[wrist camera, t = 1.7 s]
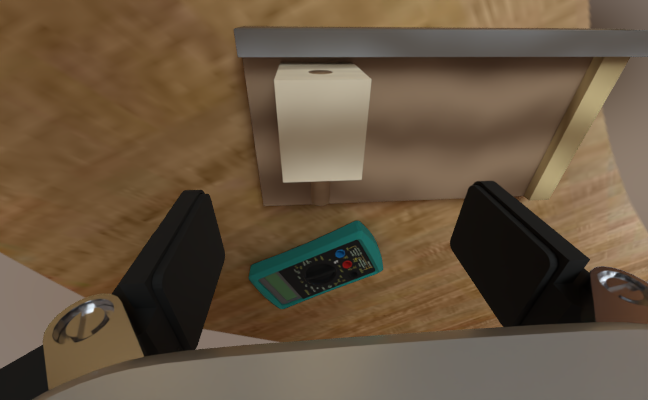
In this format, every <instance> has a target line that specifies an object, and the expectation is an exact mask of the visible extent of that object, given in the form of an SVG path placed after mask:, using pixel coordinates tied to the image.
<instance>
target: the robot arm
mask: <svg viewBox="0 0 648 400" xmlns="http://www.w3.org/2000/svg"><path fill="white" fill-rule="evenodd" d="M450 246H451V249H452V251H453V252H454V254H455V255H456V257H457V258H458V260H459V261H460V263H461V264H462V266H463V267H464V269H465V270H466V272H467V273H468V275H469V276H470V278H471V279H472V281H473V282H474V284H475V285H476V287H477V288H478V290H479V292H480V293H481V295H482V296H483V298H484V299H485V301H486V302H487V304H488V305H489V307H490V308H491V310H492V311H493V313H494V314H495V316H496V317H497V319H498V320H499V322H500V323H501V324H502V326H503V327H498V328H482V329H466V330H451V331H436V332H421V333H406V334H392V335H378V336H363V337H349V338H335V339H321V340H308V341H294V342H281V343H269V344H268V343H267V344H255V345H242V346H232V347H220V348H210V349H199V350H195V349H196V347H197V345H198V342H199V339H200V336H201V333H202V329H203V326H204V323H205V320H206V317H207V314H208V311H209V307H210V304H211V301H212V298H213V295H214V292H215V288H216V285H217V282H218V279H219V276H220V273H221V269H222V266H223V263H224V259H225V251H224V247H223V243H222V239H221V236H220V232H219V228H218V224H217V220H216V217H215V213H214V209H213V205H212V201H211V198H210V195H209V194H205V193H204V192H203V190H185V191H183V192H182V193H181V195H180V196H179V198H178V199H177V201H176V202H175V204H174V205H173V207H172V208H171V209H170V211H169V212H168V214H167V215H166V217H165V218H164V220H163V221H162V223H161V224H160V225H159V227H158V228H157V230H156V231H155V232H154V233H153V235H152V236H151V238H150V239H149V241H148V242H147V244H146V245H145V246H144V248H143V249H142V251H141V252H140V254H139V255H138V257H137V258H136V260H135V261H134V262H133V264H132V265H131V267H130V268H129V270H128V271H127V273H126V274H125V275H124V277H123V278H122V280H121V281H120V283H119V284H118V286H117V287H116V288H115V290H114V291H113V293H112V294H98V295H93V296H89V297H87V298H84V299H82V300H79V301H78V302H76V303H74V304H72V305H70V306H69V307H67V308H66V309H65V310H63V311H62V312H61V313H60V314H58V315H57V316H56V317H55V318H54V320H53V321H52V322H51V323H50V324H49V325H48V327H47V329H46V331H45V332H44V337H43V345H42V346H40V347H38V348H36V349H35V350H33V351H31V352H29V353H28V354H26V355H24V356H23V357H21V358H19V359H17V360H16V361H14V362H12V363H10V364H8V365H7V366H5V367H3V368H1V369H0V400H648V283H647V282H645V281H644V280H642V279H640V278H638V277H636V276H634V275H632V274H630V273H627V272H625V271H623V270H619V269H616V268H612V267H604V266H601V267H595V268H593V269H592V270H591V271H590V272H588V271H587V270H585V269H584V267H585V266H586V264H587V263H588V262H589V260H590V259H589V258H588V257H586V256H585V255H584V254H583V253H582V252H580V251H579V250H578V249H577V248H575V247H574V246H573V245H572V244H571V243H569V242H568V241H567V240H566V239H564V238H563V237H562V236H561V235H560V234H558V233H557V232H556V231H555V230H554V229H552V228H551V227H550V226H549V225H547V224H546V223H545V222H544V221H543V220H541V219H540V218H539V217H538V216H536V215H535V214H534V213H533V212H532V211H530V210H529V209H528V208H527V207H525V206H524V205H523V204H522V203H521V202H519V201H518V200H517V199H516V198H514V197H513V196H512V195H511V194H510V193H508V192H507V191H506V190H505V189H504V188H502V187H501V186H500V185H499V184H497V183H496V182H495V181H476V182H475V183H474V184H473V185H471V186H470V187H469V188H468V191H467V194H466V196H465V199H464V202H463V205H462V208H461V211H460V214H459V217H458V220H457V223H456V226H455V228H454V231H453V234H452V237H451V240H450Z"/></svg>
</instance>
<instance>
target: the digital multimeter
mask: <svg viewBox="0 0 648 400" xmlns="http://www.w3.org/2000/svg"><path fill="white" fill-rule="evenodd" d="M382 270H383V263H382V258H381V254H380V251H379V248H378V245H377V242H376V240H375V239H374V237H373V235H372V234H371V233H370V231H369V230H368V229H367V228H366V227H365V226H364V225H363V224H362V223H361V222H360V221H354V222H352V223H350V224H348V225H346V226H344V227H341V228H339V229H337V230H335V231H333V232H331V233H328V234H326V235H324V236H322V237H319V238H317V239H315V240H313V241H310V242H308V243H306V244H303V245H301V246H298V247H296V248H294V249H291V250H289V251H286V252H284V253H281V254H279V255H276V256H273V257H271V258H268V259H265V260H263V261H260V262H258V263H255V264H253V265H251V267H250V273H249V280H250V281H251V283H252V284H253V285H254V286H255V287H256V288H257V290H258V291H259V292H260V293H261V294H262V295H263V296H264V297H265V298H266V299H268V300H269V301H270V302H271V303H273V304H274V305H275V306H277V307H278V308H280V309H285V308H288V307H290V306H292V305H295V304H297V303H300V302H302V301H305V300H307V299H310V298H312V297H315V296H318V295H320V294H323V293H325V292H328V291H331V290H333V289H336V288H339V287H341V286H344V285H347V284H350V283H352V282H355V281H358V280H361V279H364V278H366V277H369V276H372V275H375V274H377V273H379V272H381V271H382ZM304 278H305V279H304Z"/></svg>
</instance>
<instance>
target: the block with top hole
mask: <svg viewBox="0 0 648 400" xmlns="http://www.w3.org/2000/svg"><path fill="white" fill-rule="evenodd" d="M371 80H372V79H371V78H369V77H368V76H367V75H366V74H365V73H364V72H363V71H362V70H361V69H359V68H358V67H357V66H356V65H355V64H354V63H353V62H280V65H279V67H278V70H277V73H276V76H275V79H274V86H275V97H276V108H277V119H278V131H279V142H280V153H281V164H282V176H283V183H284V182H311V202H312V203H313V204H314V205H317V206H324V205H327V204H328V203H329V201H330V181H344V180H362V171H363V161H364V151H365V141H366V131H367V120H368V110H369V100H370V90H371Z"/></svg>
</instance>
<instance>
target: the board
mask: <svg viewBox="0 0 648 400" xmlns="http://www.w3.org/2000/svg"><path fill="white" fill-rule="evenodd" d="M234 35H235V42H236V48H237V55H238V57H242V58H243V65H244V72H245V79H246V86H247V93H248V100H249V107H250V114H251V121H252V128H253V135H254V142H255V149H256V156H257V163H258V170H259V177H260V184H261V191H262V198H263V205H264V206H281V205H306V204H313V203H312V202H311V182H284V183H283V176H282V164H281V153H280V142H279V131H278V119H277V108H276V97H275V86H274V79H275V76H276V73H277V70H278V67H279V65H280V62H353V63H354V64H355V65H356V66H357V67H358V68H359V69H361V70H362V71H363V72H364V73H365V74H366V75H367V76H368V77H369V78H371V79H372V80H371V90H370V100H369V110H368V120H367V131H366V141H365V151H364V161H363V171H362V180H344V181H330V201H329V203H328V204H331V203H357V202H382V201H407V200H433V199H458V198H465V196H466V194H467V191H468V188H469V187H470V186H471V185H473V184H474V183H475V182H476V181H495V182H496V183H497V184H499V185H500V186H501V187H502V188H504V189H505V190H506V191H507V192H508V193H510V194H511V195H512V196H524V197H526V198H527V199H528V200H549V198H550V196H551V195H552V193H553V191H554V189H555V188H556V186H557V184H558V182H559V181H560V179H561V177H562V175H563V174H564V172H565V170H566V168H567V167H568V165H569V163H570V161H571V160H572V158H573V156H574V154H575V153H576V151H577V149H578V147H579V146H580V144H581V142H582V141H583V139H584V137H585V135H586V134H587V132H588V130H589V128H590V127H591V125H592V123H593V121H594V120H595V118H596V116H597V114H598V113H599V111H600V109H601V107H602V106H603V104H604V102H605V100H606V99H607V97H608V95H609V93H610V91H611V90H612V88H613V86H614V85H615V83H616V81H617V79H618V78H619V76H620V74H621V72H622V71H623V69H624V67H625V65H626V64H627V62H628V60H629V58H630V57H648V31H647V30H626V29H558V28H401V27H245V26H243V27H239V28H235V29H234Z"/></svg>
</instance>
